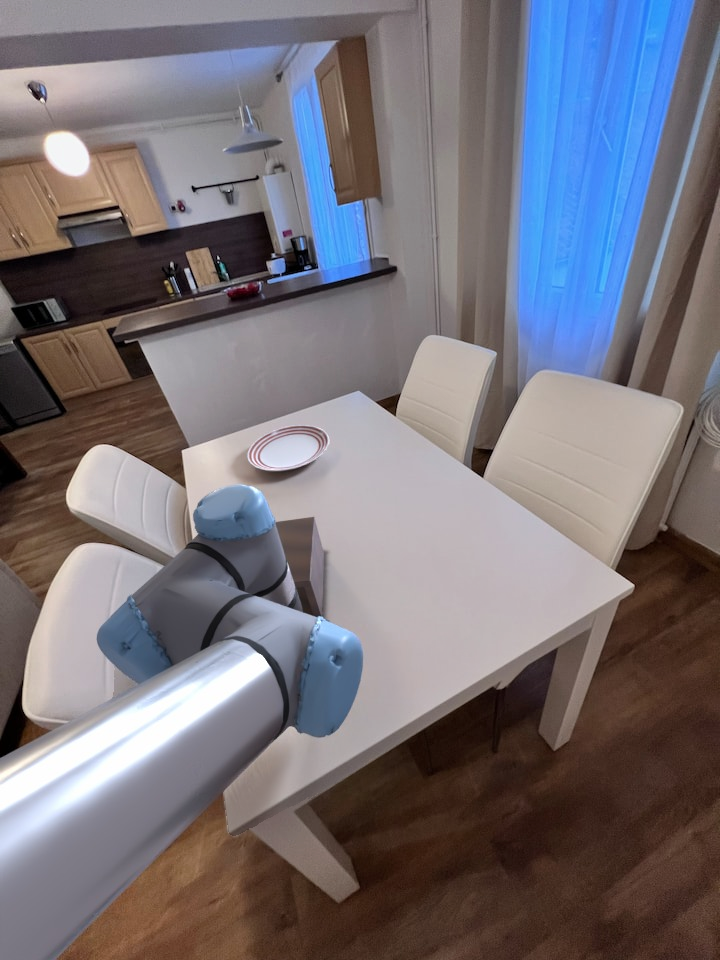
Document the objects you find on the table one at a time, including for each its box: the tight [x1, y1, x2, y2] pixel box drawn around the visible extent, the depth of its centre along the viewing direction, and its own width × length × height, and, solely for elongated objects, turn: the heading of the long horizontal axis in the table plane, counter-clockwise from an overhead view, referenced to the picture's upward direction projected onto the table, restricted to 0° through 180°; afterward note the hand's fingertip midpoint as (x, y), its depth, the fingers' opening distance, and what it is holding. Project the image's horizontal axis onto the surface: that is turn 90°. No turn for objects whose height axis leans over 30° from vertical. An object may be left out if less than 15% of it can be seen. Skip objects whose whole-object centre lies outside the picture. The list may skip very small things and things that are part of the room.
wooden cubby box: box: [275, 516, 325, 617], centre depth 84 cm, size 18×16×12 cm
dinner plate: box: [246, 424, 330, 472], centre depth 134 cm, size 28×27×3 cm
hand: (304, 692), depth 63 cm, fingers closed on coffee cup, 8 cm apart
